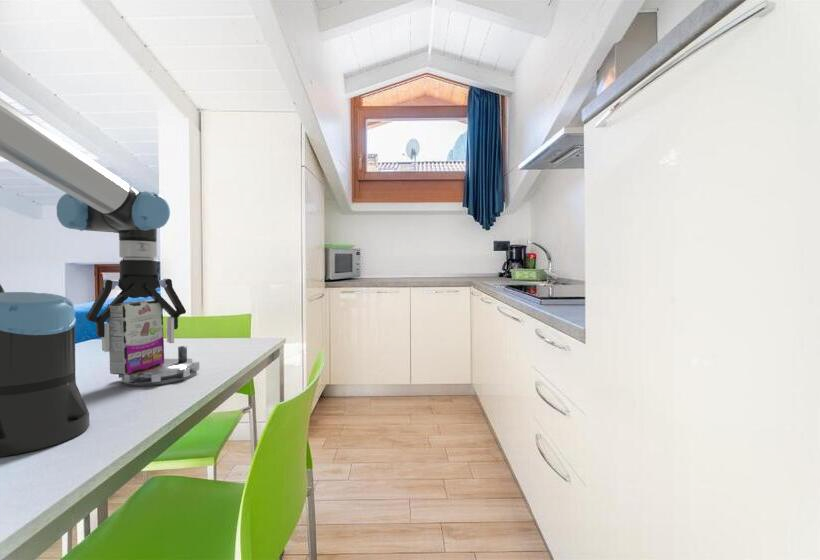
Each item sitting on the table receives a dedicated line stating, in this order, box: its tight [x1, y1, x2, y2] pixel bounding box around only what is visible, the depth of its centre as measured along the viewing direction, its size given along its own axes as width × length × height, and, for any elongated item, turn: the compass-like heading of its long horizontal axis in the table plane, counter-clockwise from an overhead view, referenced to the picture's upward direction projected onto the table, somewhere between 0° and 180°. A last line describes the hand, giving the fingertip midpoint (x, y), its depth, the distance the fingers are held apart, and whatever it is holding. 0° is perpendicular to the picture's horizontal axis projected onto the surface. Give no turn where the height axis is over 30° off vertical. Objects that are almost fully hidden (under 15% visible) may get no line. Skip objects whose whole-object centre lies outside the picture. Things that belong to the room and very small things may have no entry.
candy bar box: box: [107, 299, 165, 375], centre depth 96 cm, size 11×5×16 cm, turn 169°
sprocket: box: [118, 345, 200, 383], centre depth 101 cm, size 17×17×6 cm
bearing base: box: [121, 370, 198, 387], centre depth 101 cm, size 16×16×1 cm
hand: (139, 346), depth 97 cm, fingers open, 13 cm apart
